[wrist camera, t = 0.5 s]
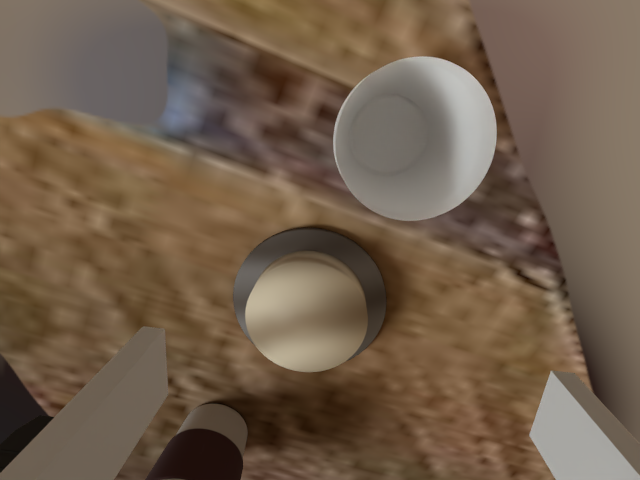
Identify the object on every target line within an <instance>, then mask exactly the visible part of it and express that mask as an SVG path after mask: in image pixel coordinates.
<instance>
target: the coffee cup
mask: <svg viewBox="0 0 640 480" xmlns="http://www.w3.org/2000/svg"><path fill="white" fill-rule="evenodd" d="M247 436H248V431H247V426H246V423H245V421H244V419H243V418H242V417H241V415H240V414H239V413H237V412H236V411H235V410H233V409H232V408H230V407H227V406H225V405H221V404H205V405H201V406H199V407H197V408H196V409H194V410H193V411H192V412H191V413H190V414H189V415H188V416H187V418H186V420H185V421H184V423H183V424H182V426H181V428H180V429H179V431H178V433H177V434H176V435H175V436H174V437H173V438H172V439H171V440H170V442H169V443H168V445H167V446H166V448H165V449H164V451H163V453H162V454H161V456H160V457H159V459H158V460H157V462H156V464H155V465H154V467H153V468H152V470H151V471H150V473H149V475H148V476H147V478H146V479H145V480H240V479H241V474H242V469H243V455H244V450H245V446H246V441H247Z"/></svg>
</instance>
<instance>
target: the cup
mask: <svg viewBox="0 0 640 480" xmlns="http://www.w3.org/2000/svg"><path fill="white" fill-rule="evenodd" d="M496 139H497V127H496V118H495V113H494V110H493V106H492V104H491V101H490V99H489V97H488V95H487V93H486V91H485V90H484V88H483V87H482V86H481V84H480V83H479V82H478V81H477V80H476V79H475V78H474V77H473V76H472V75H471V74H470V73H469V72H467V71H466V70H465V69H463V68H462V67H460V66H458V65H456V64H454V63H452V62H450V61H447V60H443V59H440V58H435V57H425V56H424V57H410V58H405V59H401V60H397V61H394V62H392V63H389V64H387V65H385V66H383V67H381V68H380V69H378V70H376V71H374V72H373V73H371V74H370V75H368V76H367V77H365V78H364V79H363V80H362V81H361V82H360V83H358V84H357V86H356V87H355V88H354V89H353V90H352V91H351V92H350V94H349V95H348V97H347V98H346V100H345V101H344V103H343V105H342V107H341V109H340V111H339V114H338V117H337V120H336V123H335V129H334V137H333V147H334V155H335V160H336V164H337V167H338V169H339V172H340V174H341V176H342V178H343V180H344V182H345V183H346V185H347V187H348V188H349V190H350V191H351V192H352V194H353V195H354V196H355V197H356V198H357V199H358V200H359V201H360V202H361V203H362V204H363V205H365V206H366V207H367V208H369V209H370V210H372V211H374V212H376V213H378V214H380V215H382V216H385V217H388V218H392V219H397V220H405V221H415V220H424V219H429V218H432V217H436V216H438V215H441V214H444V213H446V212H448V211H450V210H451V209H453V208H455V207H456V206H458V205H459V204H460V203H462V202H463V201H464V200H465V199H467V198H468V197H469V196H470V195H471V194H472V193H473V192H474V191H475V189H476V188H477V187H478V186H479V184H480V183H481V181H482V180H483V178H484V177H485V175H486V173H487V171H488V169H489V167H490V164H491V162H492V159H493V156H494V152H495V147H496Z"/></svg>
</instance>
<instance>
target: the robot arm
mask: <svg viewBox="0 0 640 480" xmlns="http://www.w3.org/2000/svg"><path fill="white" fill-rule="evenodd" d="M167 395H168V383H167V363H166V343H165V329H161V328H152V327H142V328H141V329H140V330H139V331H138V332H137V333H136V334H135V335H134V336H133V337H132V338H131V339H130V340H129V341H128V342H127V343H126V344H125V345H124V346H123V347H122V349H121V350H120V351H119V352H118V353H117V354H116V355H115V356H114V357H113V358H112V359H111V360H110V361H109V362H108V363H107V364H106V365H105V366H104V367H103V368H102V369H101V370H100V371H99V372H98V373H97V374H96V375H95V376H94V377H93V378H92V379H91V380H90V381H89V382H88V383H87V384H86V386H85V387H84V388H83V389H82V390H81V391H80V392H79V393H78V394H77V395H76V396H75V397H74V398H73V399H72V400H71V401H70V402H69V403H68V404H67V405H66V406H65V407H64V408H63V409H62V410H61V411H60V412H59V413H58V414H57V415H56V416H55V417H50V416H41V415H40V416H38V417H36V418H35V419H33V420H31V421H30V422H28V423H26V424H25V425H23V426H22V427H20V428H18V429H17V430H15V431H14V432H13V433H12V434H11V435H10V436H9V437H8V438H7V439H6V440H5V441H4V442H2V443H1V444H0V480H114V478H115V477H116V475H117V474H118V472H119V471H120V469H121V467H122V466H123V464H124V463H125V461H126V460H127V458H128V457H129V455H130V453H131V452H132V450H133V449H134V447H135V446H136V444H137V442H138V441H139V439H140V438H141V436H142V435H143V433H144V431H145V430H146V428H147V427H148V425H149V424H150V422H151V420H152V419H153V417H154V416H155V414H156V413H157V411H158V409H159V408H160V406H161V405H162V403H163V402H164V400H165V399H166V397H167ZM530 437H531V439H532V440H533V442H534V444H535V445H536V447H537V449H538V450H539V452H540V454H541V455H542V457H543V459H544V460H545V462H546V464H547V465H548V467H549V469H550V470H551V472H552V474H553V475H554V477H555V479H556V480H640V443H639V442H638V441H637V440H636V439H635V438H634V437H633V436H632V435H631V434H630V433H629V432H628V431H627V430H626V428H625V427H624V426H623V425H622V424H621V423H620V422H619V421H618V420H617V419H616V418H615V416H613V414H612V413H611V412H610V411H609V410H608V409H607V408H606V407H605V406H604V405H603V404H602V402H601V401H600V400H599V399H598V398H597V397H596V396H595V395H594V394H593V393H592V392H591V391H590V389H589V388H588V387H587V386H586V385H585V384H584V383H583V382H582V381H581V380H580V379H579V378H578V377H577V375H576V374H575V373H568V372H559V371H551V373H550V376H549V379H548V381H547V384H546V387H545V390H544V393H543V396H542V399H541V402H540V405H539V408H538V411H537V414H536V417H535V420H534V423H533V426H532V429H531V432H530Z"/></svg>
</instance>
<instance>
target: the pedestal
mask: <svg viewBox="0 0 640 480" xmlns="http://www.w3.org/2000/svg"><path fill="white" fill-rule="evenodd" d="M233 301H234V309H235V313H236V316H237V319H238V322H239V324H240V326H241V328H242V330H243V331H244V333H245V334H246V336H247V337H248V338H249V340H250V341H251V342H252V343H253V344H254V345H255V346H256V347H257V348H258V350H259V351H260V352H261V353H262V354H263V355H264V356H266V357H267V358H268V359H269V360H271V361H272V362H274V363H276V364H278V365H280V366H282V367H285V368H287V369H291V370H294V371H301V372H319V371H324V370H328V369H331V368H334V367H336V366H338V365H340V364H342V363H343V362H345V361H347V360H350V359H352V358H353V357H355V356H356V355H358V354H359V353H361V352H362V351H363V350H364V349H366V348H367V346H368V345H369V344H370V343H371V342H372V341H373V340H374V338H375V337H376V335H377V334H378V332H379V330H380V328H381V326H382V323H383V320H384V317H385V312H386V291H385V287H384V283H383V279H382V276H381V274H380V271H379V269H378V267H377V266H376V264H375V262H374V261H373V260H372V258H371V257H370V256H369V254H368V253H367V252H366V251H365V250H364V249H363V248H362V247H360V246H359V245H358V244H356V243H355V242H354V241H352V240H350V239H349V238H347V237H345V236H343V235H341V234H338V233H336V232H333V231H329V230H325V229H319V228H296V229H290V230H287V231H283V232H280V233H278V234H275V235H273V236H271V237H269V238H268V239H266V240H264V241H263V242H262V243H260V244H259V245H258V246H257V247H256V248H255V249H254V250H253V251H252V252H251V253H250V254H249V255H248V257H247V258H246V260H245V261H244V262H243V264H242V266H241V268H240V270H239V271H238V274H237V277H236V280H235V285H234V293H233Z"/></svg>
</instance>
